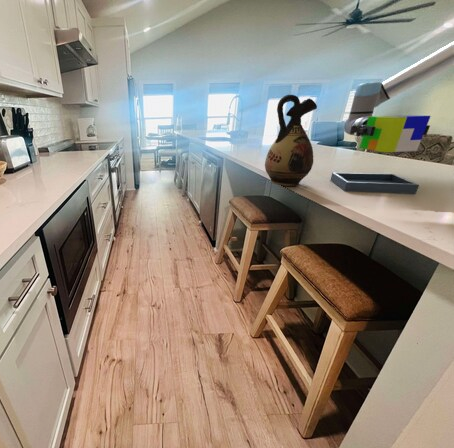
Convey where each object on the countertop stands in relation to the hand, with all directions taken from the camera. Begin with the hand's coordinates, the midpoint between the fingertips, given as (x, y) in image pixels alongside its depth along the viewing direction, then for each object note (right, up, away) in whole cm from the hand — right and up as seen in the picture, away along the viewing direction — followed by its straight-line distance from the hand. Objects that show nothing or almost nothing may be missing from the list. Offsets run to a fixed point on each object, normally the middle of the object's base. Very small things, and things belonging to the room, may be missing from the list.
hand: (399, 130), depth 74 cm
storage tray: (-1, -16, +9) cm, 18 cm away
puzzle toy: (+1, -4, +5) cm, 7 cm away
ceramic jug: (-27, -13, +17) cm, 35 cm away
